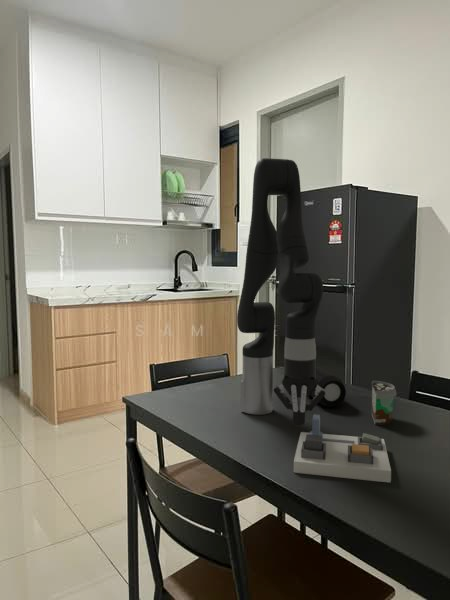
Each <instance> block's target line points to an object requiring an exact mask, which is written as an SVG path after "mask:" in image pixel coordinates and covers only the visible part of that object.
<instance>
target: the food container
mask: <svg viewBox="0 0 450 600" xmlns="http://www.w3.org/2000/svg"><path fill="white" fill-rule="evenodd" d="M397 395H398V394H397V389H396V388H395V386H394V384H392V383H389V382H386V381H379V380H371V416H372V419H373V422H374V426H386V425H389V424H391V423H392V420H393V419H392V418H393V409H394V402H395V401H394V400H395V398H396V396H397ZM385 424H386V425H385Z"/></svg>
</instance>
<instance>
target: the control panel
mask: <svg viewBox="0 0 450 600" xmlns="http://www.w3.org/2000/svg"><path fill="white" fill-rule="evenodd" d="M307 434H308V435H310V432H305V431H301V432H300V435H299V438H298V442H297V446H296V450H295V454H294V458H293V459H294V460H293V473H296V474H304V475H313V476H325V477H334V478H343V479H353V480H361V481H362V480H363V481H370V482H379V483H382V482H383V483H392V482H391V481H392V467H391V465H390V464H391V463H390V461H389V455H388V452H387V446H386V443H385V439H384V438H379V445H373V444H369V443H366V442H362V436H355V435H352V436H351V435H340V434H328V433H323V441H322V451H316V450H305V439H306V435H307ZM352 444H357V445H368V446H369V455H359V454H351V452H352Z"/></svg>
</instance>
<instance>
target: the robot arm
mask: <svg viewBox="0 0 450 600" xmlns="http://www.w3.org/2000/svg"><path fill="white" fill-rule="evenodd" d="M299 171H300V170H299V168H298V164H297V163H296V162H295V160H293V159H288V158H287V159H285V158H260V159H259V160H258V161H257V162H256V164H255V168H254V173H253V183H252V202H251V203H252V204H251V216H250V217H251V220H250V225H249V233H248V234H249V235H248V241H247V245H246V255H245V266H244V267H245V268H244V274H243V275H244V277H243V284H242V289H241V295H240V299H239V304H238V308H237V316H236V322H237V324H236V326H237V327H238V330H239V332H240V333H243V334H259V335H258V336H257V338H256V339H253V340H252V341H250V342H248V343H246V344H244V345H243V346H242V379H241V381H240V412H241V413H246V414H249V415H259V416H261V415H268V414H270V413H272V412H273V410H274V409H273V406H274V404H273V403H274V402H273V399H274V398H273V394H274V393H275V395H276V396H277V398H278V399H279V401H281V403H282V404H283V406H284V407H285V409H288V410H291V411H292V418H293V419H292V422H293V425H295V428H296V427H297V428H303V426H304V425H305V423H306V412H307V411H310V412H311V411H312V410H313V409H314V408H315V407H316V406H317V405H318V404H319V401H320V400H321V399H322V398H323V397H324V396H325V393H326V390H325V389H322V388H321V387H320V386H318V382H317V380H316V365H317V364H316V360H317V358H316V357H317V344H316V321H317V315H318V312H319V308H320V305H321V301H322V297H323V294H324V283H323V281H322V278H321V276H320V275H318V273H317V274H316V273H313V272H300V273H299V272H298V273H297V272H296V273H295V269H299V268H301V267H304V266H306V265H307V264H308V263H309V261H310V255H309V250H308V245H307V241H306V237H305V231H304V225H303V224H304V223H303V212H302V211H303V210H302V207H303V206H302V192H301V179H300V172H299ZM269 196H285V200H286V208H285V211H284V213H283V215H282V218H281V220H280V222H279V223H278V224H279V225H278V227H277V229H276V227H275V225H274V223H273V221H272V218H271V217H270V213H269V208H268V207H269V206H268V198H269ZM278 265H279V276H278V277H279V279H278V295H279V297H280V298H281V300H282V301H283V302H285V303H287V304H296V303H297V304H298V303H299V304H301V303H303V304H302V306H301V307H300V309H299V310H298V311H293V312H291V313H288V314H287V315H286V317H285V339H284V345H283V346H284V348H283V349H284V353H283V354H284V355H283V357H284V359H283V361H284V363H283V374H284V375H283V379H282V380H281V383H280V384H278V385H275V386H273V385H274V384H273V383H274V381H273V380H274V374H273V373H274V347H275V346H274V345H275V327H276V311H275V308H274V305H273V304H272V303H271V302H269V301H262V302H261V301H260V302H259V301H257V302H256V301H255V300H256V297H257V296H258V293H259V291H260V290H261V288H262V287H263V286H264V284H266V282H267V281H268V280H269V279H270V278H271V276H273V274H274V272H275V271H276V269H277V267H278ZM315 389H316V391H315V395H316V396H315V397H314V398H313V397H312V399H311V401H310V402H309V403H307V400H308V398H309V397H311V396H310V395H311V393H312V392H313V391H314V390H315ZM285 390H286V392H287V393H288V394H289V396H290V397H291V400H290V398H289V397H288V396H287V394H286V393H285ZM299 400H300V402H299ZM299 403H300V404H299Z"/></svg>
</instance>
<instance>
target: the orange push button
mask: <svg viewBox="0 0 450 600" xmlns="http://www.w3.org/2000/svg"><path fill="white" fill-rule="evenodd" d="M351 454H359V455H369V446H368V445H357V444H352V452H351Z"/></svg>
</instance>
